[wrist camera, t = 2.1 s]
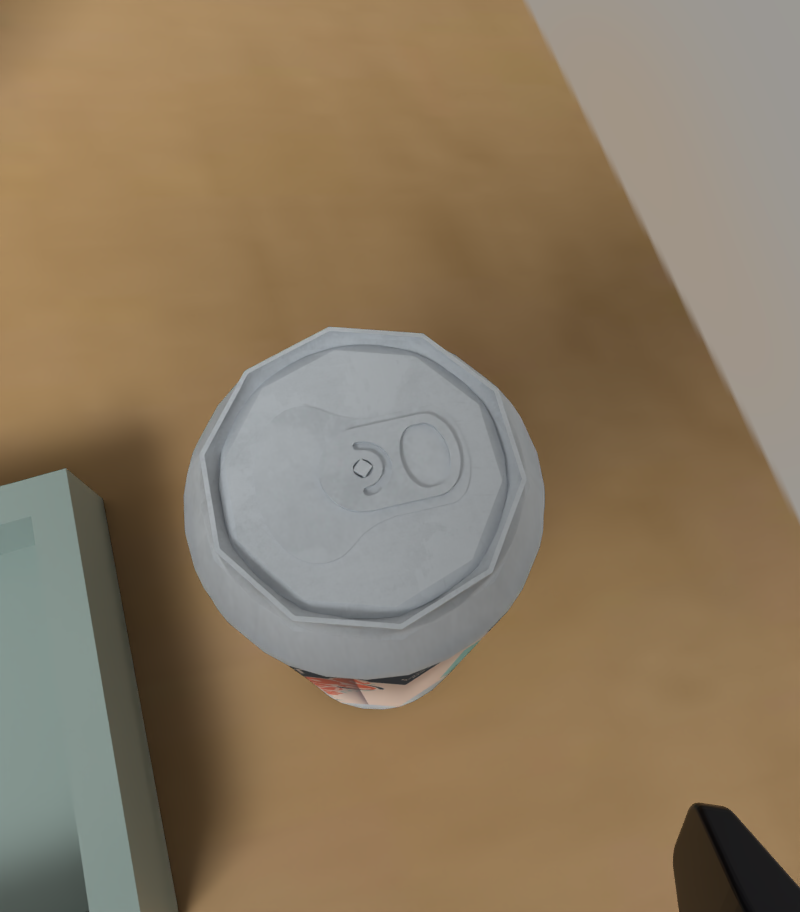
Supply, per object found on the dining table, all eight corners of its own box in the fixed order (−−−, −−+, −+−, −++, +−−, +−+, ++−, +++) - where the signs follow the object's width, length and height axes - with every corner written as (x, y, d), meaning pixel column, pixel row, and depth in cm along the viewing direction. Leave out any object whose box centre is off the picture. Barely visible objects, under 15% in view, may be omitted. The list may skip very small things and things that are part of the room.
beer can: (274, 552, 21) (139, 336, 10) (440, 513, 21) (496, 264, 10) (308, 731, 19) (194, 721, 8) (486, 684, 20) (616, 614, 8)
